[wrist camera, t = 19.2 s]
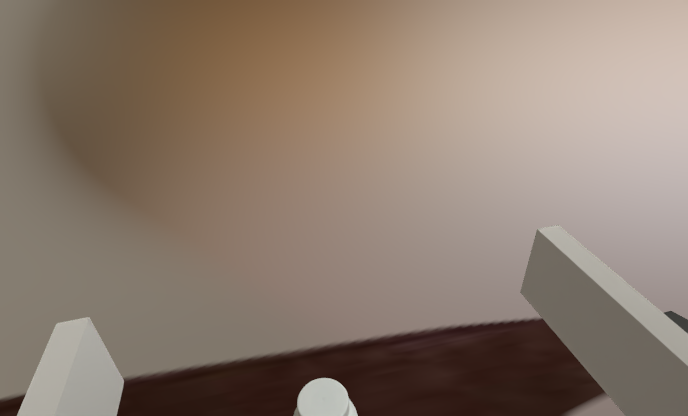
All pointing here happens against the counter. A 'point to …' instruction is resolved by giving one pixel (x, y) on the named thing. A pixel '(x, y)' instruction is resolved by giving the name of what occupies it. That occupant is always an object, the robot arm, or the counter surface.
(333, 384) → the pill bottle
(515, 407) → the counter surface
